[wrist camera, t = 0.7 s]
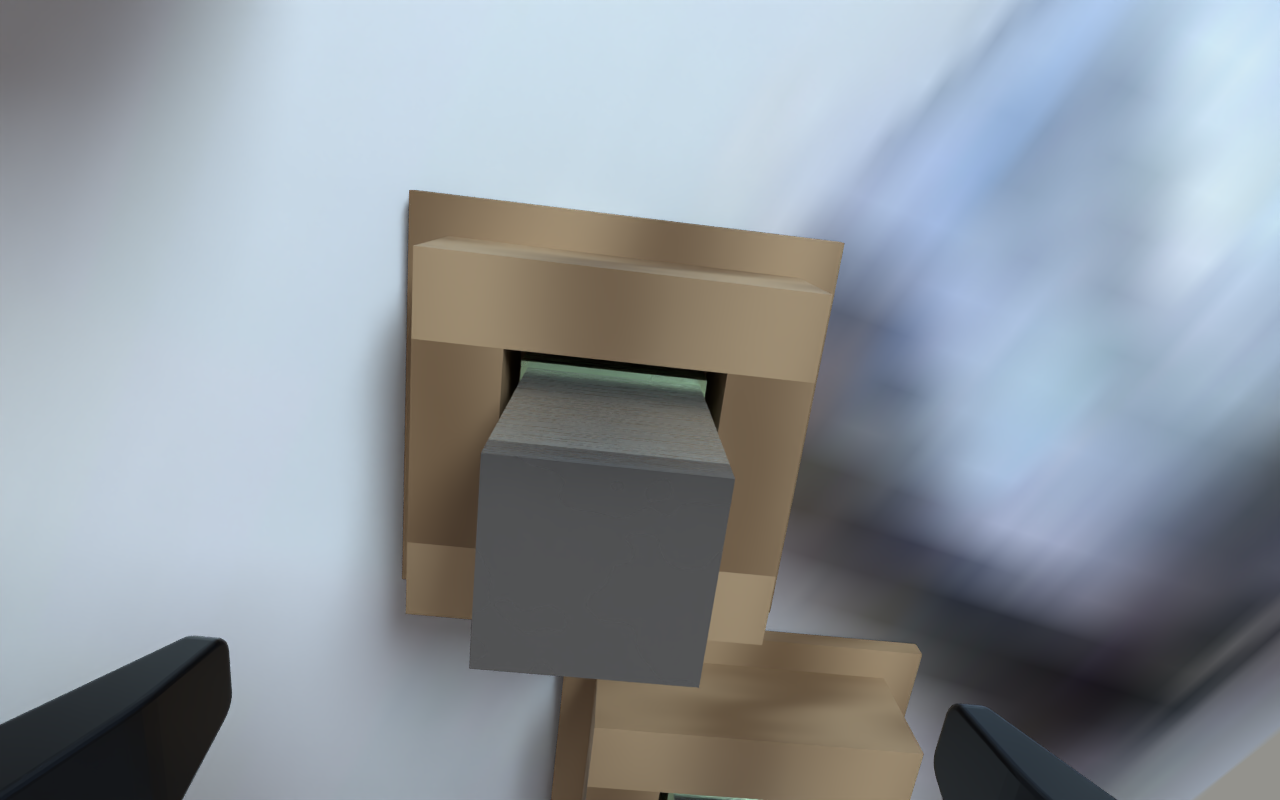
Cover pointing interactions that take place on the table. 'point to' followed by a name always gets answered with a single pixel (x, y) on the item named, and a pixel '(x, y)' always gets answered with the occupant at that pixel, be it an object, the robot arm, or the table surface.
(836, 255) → the marked collar
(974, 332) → the table surface
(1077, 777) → the robot arm
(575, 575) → the marked post
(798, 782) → the wooden square base
